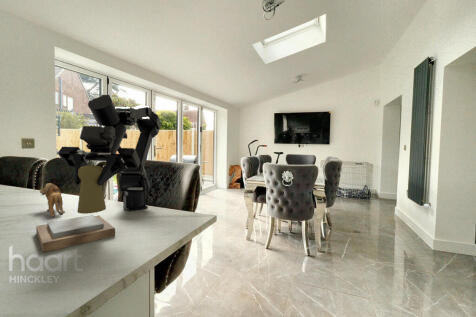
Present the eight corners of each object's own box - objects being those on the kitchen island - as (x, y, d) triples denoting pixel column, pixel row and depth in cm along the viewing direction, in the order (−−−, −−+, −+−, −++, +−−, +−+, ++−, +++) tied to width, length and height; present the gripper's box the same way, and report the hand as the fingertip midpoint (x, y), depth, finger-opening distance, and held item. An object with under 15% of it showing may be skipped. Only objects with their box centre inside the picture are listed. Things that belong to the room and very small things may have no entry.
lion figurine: (38, 209, 81) (38, 183, 80) (57, 206, 85) (57, 181, 85) (52, 218, 72) (51, 189, 71) (72, 214, 76) (72, 186, 76)
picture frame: (99, 222, 70) (98, 211, 69) (115, 235, 60) (115, 224, 59) (36, 233, 60) (36, 222, 60) (43, 252, 50) (42, 238, 50)
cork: (109, 210, 59) (108, 165, 58) (80, 215, 54) (79, 167, 54) (101, 205, 63) (100, 163, 62) (74, 209, 59) (72, 165, 58)
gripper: (61, 114, 61) (26, 161, 51) (135, 116, 61) (114, 163, 51) (82, 145, 69) (54, 190, 59) (146, 146, 70) (130, 192, 59)
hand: (87, 184), depth 57 cm, fingers closed on cork, 5 cm apart
